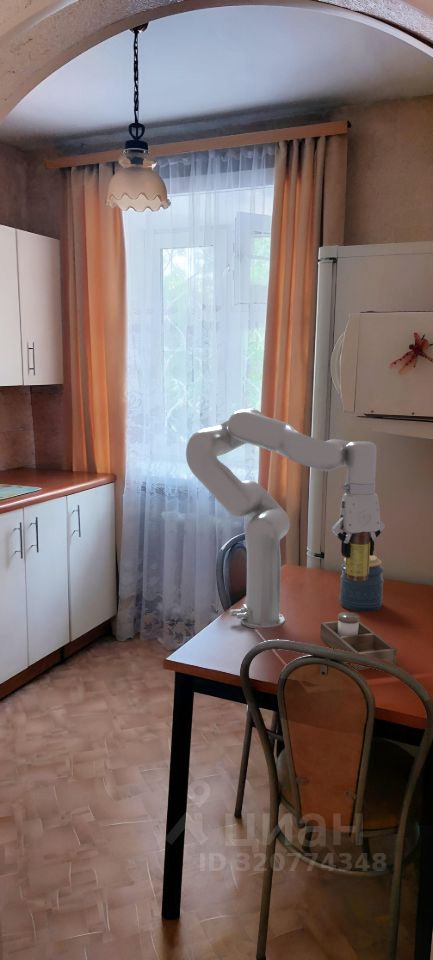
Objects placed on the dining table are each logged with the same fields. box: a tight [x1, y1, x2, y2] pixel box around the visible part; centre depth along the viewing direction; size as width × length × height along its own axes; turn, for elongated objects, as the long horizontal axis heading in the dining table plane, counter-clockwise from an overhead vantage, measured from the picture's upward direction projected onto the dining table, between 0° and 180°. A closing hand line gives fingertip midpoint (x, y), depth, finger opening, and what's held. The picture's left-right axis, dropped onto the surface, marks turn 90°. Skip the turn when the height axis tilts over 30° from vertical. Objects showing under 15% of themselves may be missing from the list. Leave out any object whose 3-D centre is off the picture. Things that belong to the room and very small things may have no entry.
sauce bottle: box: [344, 532, 370, 582], centre depth 175 cm, size 6×6×20 cm
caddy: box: [319, 620, 398, 671], centre depth 167 cm, size 11×20×5 cm, turn 15°
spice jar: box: [337, 611, 360, 637], centre depth 172 cm, size 5×5×7 cm
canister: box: [338, 554, 385, 612], centre depth 202 cm, size 13×13×18 cm
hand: (357, 555), depth 175 cm, fingers closed on sauce bottle, 6 cm apart
